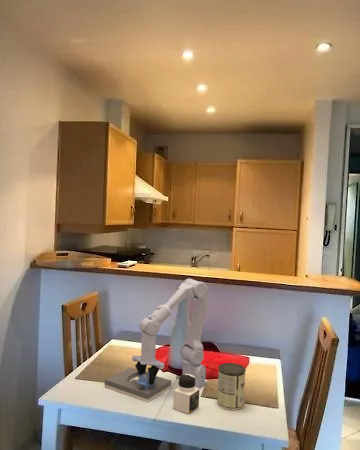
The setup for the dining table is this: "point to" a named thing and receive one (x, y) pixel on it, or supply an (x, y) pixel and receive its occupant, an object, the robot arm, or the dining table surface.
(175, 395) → the medicine bottle
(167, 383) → the grey flat block
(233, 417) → the dining table surface
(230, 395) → the coffee can
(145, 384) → the servo
